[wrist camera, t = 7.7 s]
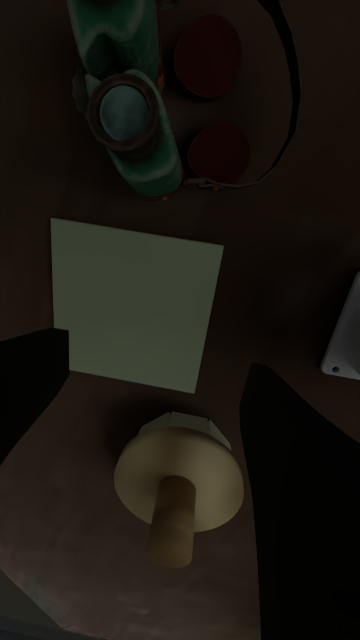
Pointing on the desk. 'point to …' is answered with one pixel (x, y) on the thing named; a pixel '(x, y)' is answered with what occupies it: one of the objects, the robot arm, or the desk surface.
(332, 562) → the robot arm
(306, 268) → the desk surface
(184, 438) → the lid
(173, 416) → the bowl
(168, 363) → the mat
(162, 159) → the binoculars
